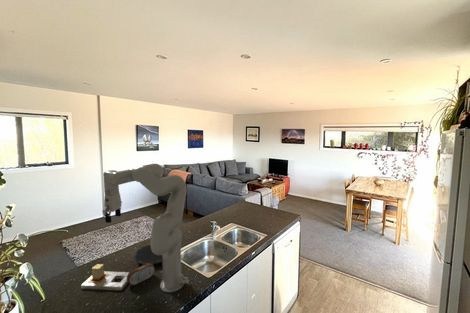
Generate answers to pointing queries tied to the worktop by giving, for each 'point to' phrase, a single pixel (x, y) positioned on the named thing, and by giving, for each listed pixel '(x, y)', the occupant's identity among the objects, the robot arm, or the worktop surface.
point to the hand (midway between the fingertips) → (113, 219)
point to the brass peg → (98, 272)
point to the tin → (140, 274)
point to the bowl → (147, 256)
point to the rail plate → (107, 281)
